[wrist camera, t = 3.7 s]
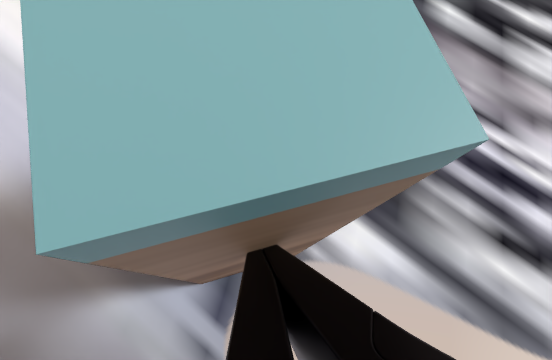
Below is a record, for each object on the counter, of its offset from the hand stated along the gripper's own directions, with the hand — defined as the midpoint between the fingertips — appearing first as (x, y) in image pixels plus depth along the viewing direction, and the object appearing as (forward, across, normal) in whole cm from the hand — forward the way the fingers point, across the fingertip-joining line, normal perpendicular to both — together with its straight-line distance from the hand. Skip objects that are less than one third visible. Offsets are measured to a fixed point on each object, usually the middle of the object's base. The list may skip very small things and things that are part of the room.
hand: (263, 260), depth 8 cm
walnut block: (+8, 0, +4) cm, 9 cm away
